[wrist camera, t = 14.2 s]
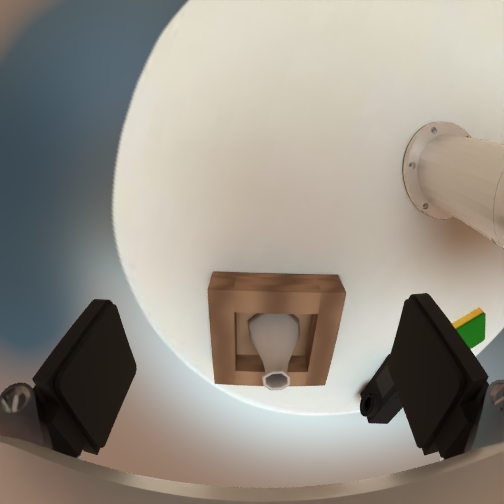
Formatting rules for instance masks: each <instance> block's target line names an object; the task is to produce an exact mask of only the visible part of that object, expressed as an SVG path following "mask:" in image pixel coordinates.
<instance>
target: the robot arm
mask: <svg viewBox="0 0 504 504" xmlns="http://www.w3.org/2000/svg"><path fill="white" fill-rule="evenodd" d="M431 129H432V132H431ZM409 164H411V165H410V167H409ZM403 175H404V182H405V186H406V189H407V192H408V195H409V196H410V198H411V200H412V202H413V203H414V204H415V205H416V207H417V208H418V209H420V210H421V211H422V212H423V213H425V214H427V215H428V216H430V217H433V218H436V219H449V218H453V217H455V218H457V219H459V220H460V221H462V222H464V223H465V224H467V225H468V226H470V227H471V228H473V229H475V230H476V231H478V232H479V233H481V234H482V235H484V236H485V237H487V238H488V239H490V240H491V241H493V242H494V243H496V244H497V245H499V246H500V247H502V248H503V249H504V144H499V143H495V142H490V141H484V140H479V139H473V138H471V136H470V135H469V134H468V133H467V132H466V131H465V130H464V129H462V128H461V127H459V126H458V125H455V124H453V123H448V122H435V123H430V124H428V125H426V126H424V127H423V128H422V129H420V130H419V131H418V132H417V133H416V134H415V136H414V137H413V138H412V140H411V142H410V144H409V146H408V147H407V151H406V154H405V158H404V165H403ZM423 204H424V205H423ZM388 370H389V373H390V375H391V378H392V380H393V383H394V385H395V388H396V390H397V393H398V395H399V398H400V400H401V403H402V406H403V408H404V411H405V414H406V417H407V419H408V422H409V425H410V428H411V430H412V433H413V436H414V439H415V442H416V444H417V446H418V447H419V448H422V450H423V453H424V455H428V454H431V453H435V452H438V451H439V453H440V456H441V458H440V460H439V462H436V463H433V464H429V465H425V466H422V467H418V468H414V469H410V470H406V471H402V472H398V473H393V474H389V475H385V476H380V477H374V478H369V479H363V480H357V481H351V482H344V483H336V484H328V485H318V486H305V487H288V488H238V487H221V486H208V485H198V484H189V483H182V482H175V481H168V480H162V479H156V478H151V477H146V476H140V475H136V474H131V473H127V472H123V471H119V470H115V469H111V468H108V467H104V466H100V465H96V464H94V463H90V462H87V461H83V460H82V458H81V455H80V454H81V452H82V450H84V451H86V452H89V453H92V454H96V455H98V452H99V450H100V448H103V447H104V446H105V444H106V442H107V439H108V437H109V434H110V432H111V429H112V427H113V424H114V422H115V420H116V417H117V415H118V413H119V410H120V408H121V406H122V403H123V401H124V399H125V396H126V394H127V392H128V390H129V387H130V385H131V382H132V380H133V378H134V376H135V374H136V363H135V360H134V357H133V354H132V352H131V349H130V346H129V343H128V340H127V337H126V334H125V331H124V328H123V325H122V322H121V319H120V315H119V313H118V309H117V306H116V305H114V304H113V303H112V302H111V301H110V300H102V299H94V300H93V301H92V302H91V303H90V304H89V306H88V307H87V308H86V309H85V310H84V312H83V313H82V314H81V315H80V317H79V318H78V319H77V320H76V322H75V323H74V324H73V325H72V327H71V328H70V329H69V330H68V332H67V333H66V334H65V336H64V337H63V338H62V339H61V341H60V342H59V344H58V345H57V346H56V347H55V349H54V350H53V351H52V353H51V354H50V355H49V357H48V358H47V359H46V361H45V362H44V363H43V365H42V366H41V368H40V369H39V370H38V372H37V373H36V375H35V376H34V377H33V381H34V383H35V384H36V385H35V387H34V388H32V387H31V386H30V385H29V384H27V383H15V384H12V385H10V386H8V387H7V388H6V389H5V390H4V391H3V392H2V393H1V395H0V504H504V380H496V381H494V382H492V383H491V384H490V385H489V384H488V382H487V381H486V380H487V378H488V375H487V373H486V372H485V370H484V369H483V367H482V366H481V364H480V363H479V361H478V360H477V358H476V357H475V355H474V354H473V353H472V351H471V350H470V348H469V347H468V345H467V344H466V343H465V341H464V340H463V338H462V337H461V336H460V334H459V333H458V332H457V330H456V329H455V328H454V326H453V325H452V323H451V322H450V321H449V320H448V318H447V317H446V316H445V314H444V313H443V312H442V310H441V309H440V308H439V307H438V305H437V304H436V303H435V301H434V300H433V299H432V298H431V296H430V295H429V294H427V293H423V294H412V295H411V296H410V297H409V299H407V300H405V302H404V306H403V310H402V314H401V318H400V322H399V326H398V330H397V333H396V337H395V340H394V344H393V347H392V351H391V354H390V357H389V361H388Z"/></svg>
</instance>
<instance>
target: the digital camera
mask: <svg viewBox="0 0 504 504" xmlns="http://www.w3.org/2000/svg"><path fill="white" fill-rule="evenodd" d="M389 357H390V354H389V355H388V357H387V358H386V359H385V361H384V362H383V364H382V365H381V367H380V368H379V369H378V371H377V372H376V374H375V375H374V376H373V378H372V379H371V381H370V382H369V383H368V385H367V386H366V387H365V389H364V390H363V391H362V393H361V394H360V395H361V398H362V399H361V403H360V412H361V414H362V415H363V416H366V417H367V419H368V422H369V423H380V424H381V423H382V424H387V423H389V422H390V421H391V420H392V418H393V417H394V416H395V415H396V414H397V413H398V412H399V411H400V410H401V409H402V407H403V406H402V403H401V400H400V398H399V395H398V393H397V390H396V388H395V385H394V383H393V380H392V378H391V375H390V373H389V370H388V361H389Z"/></svg>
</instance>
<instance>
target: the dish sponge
mask: <svg viewBox="0 0 504 504" xmlns="http://www.w3.org/2000/svg"><path fill="white" fill-rule="evenodd" d="M452 325H453V326H454V328H455V329H456V330H457V332H458V333H459V334H460V336H461V337H462V338H463V340H464V341H465V343H466V344H467V345H468V347H469V348H470V349H471V348H473V347H474V346H476V345H478V344H479V343H481V342H482V341H483V340H484V339H485V313H484V312H483V311H482V310H481V309H480V308H477V309H476V310H474V311H473V312H471V313H469V314H468V315H466V316H464V317H463V318H461V319H459V320H457V321H456V322H454V323H452Z"/></svg>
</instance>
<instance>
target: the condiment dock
mask: <svg viewBox="0 0 504 504" xmlns="http://www.w3.org/2000/svg"><path fill="white" fill-rule="evenodd" d="M345 296H346V291H345V289H344V287H343V285H342V283H341V280H340V278H339V276H338V275H316V274H272V273H238V272H213V274H212V277H211V280H210V283H209V287H208V304H209V319H210V333H211V346H212V358H213V369H214V380H215V384H227V385H248V386H264V385H263V379H262V376H263V374H265V368H264V364H263V361H262V359H261V357H260V355H259V353H258V351H257V350H256V348H255V346H254V344H253V343H252V341H251V339H250V335H249V328H248V320H250V319H251V318H252V317H254V316H255V315H257V314H258V313H270V314H293V315H294V316H295V317H296V318H297V319H298V320H299V329H300V337H299V340H298V342H297V344H296V346H295V348H294V350H293V353H292V355H291V358H290V360H289V363H288V369H287V373H288V374H289V375H290V385H289V386H319V385H325V384H326V380H327V376H328V372H329V368H330V364H331V360H332V356H333V352H334V348H335V344H336V339H337V335H338V330H339V326H340V321H341V316H342V311H343V306H344V301H345Z"/></svg>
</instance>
